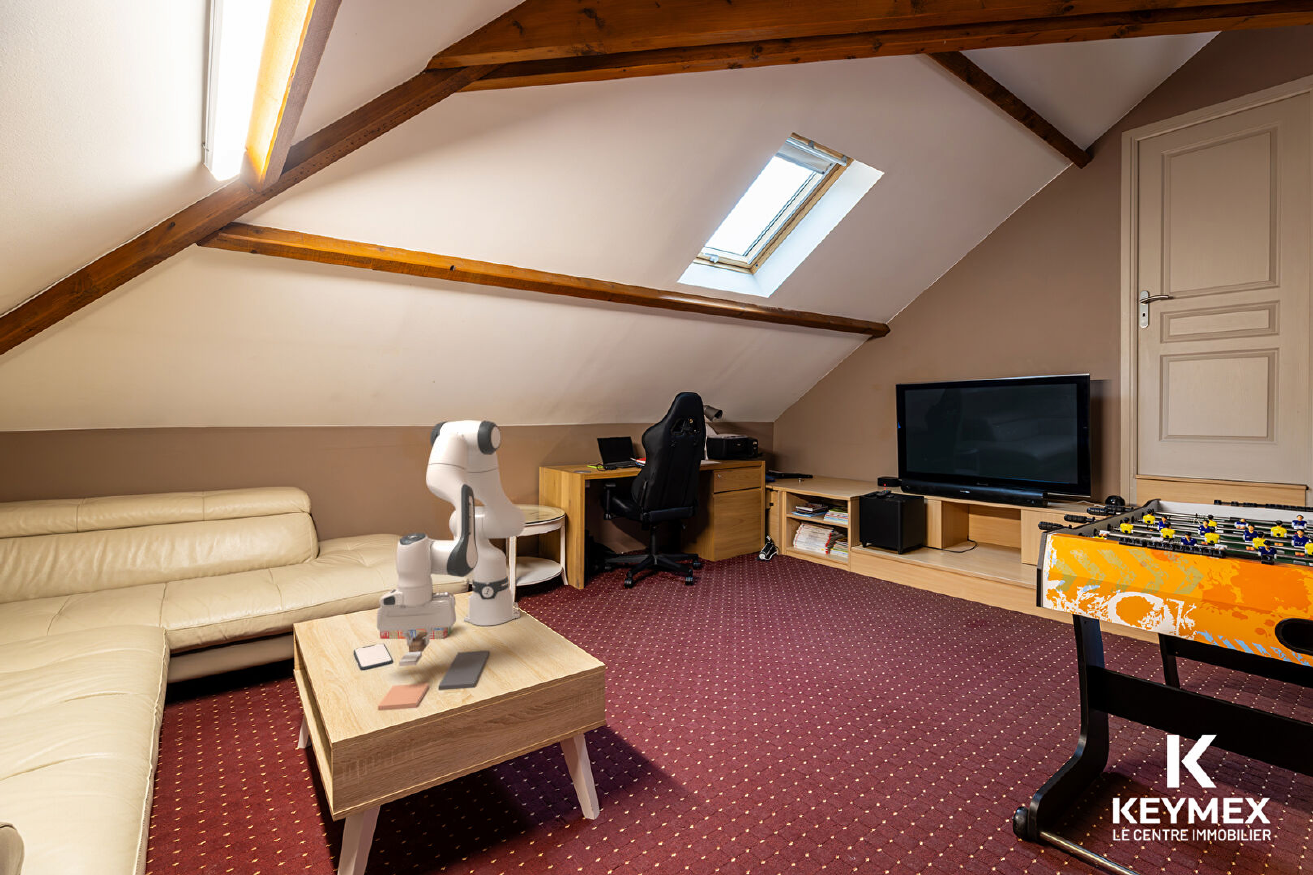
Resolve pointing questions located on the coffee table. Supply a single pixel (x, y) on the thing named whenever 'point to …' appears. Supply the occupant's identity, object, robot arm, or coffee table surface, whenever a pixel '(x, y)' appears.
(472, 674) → the rubber mat
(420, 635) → the brown handled tool
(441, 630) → the stack of blocks
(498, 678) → the coffee table surface
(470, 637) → the coffee table surface
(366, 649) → the smartphone
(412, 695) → the tile
